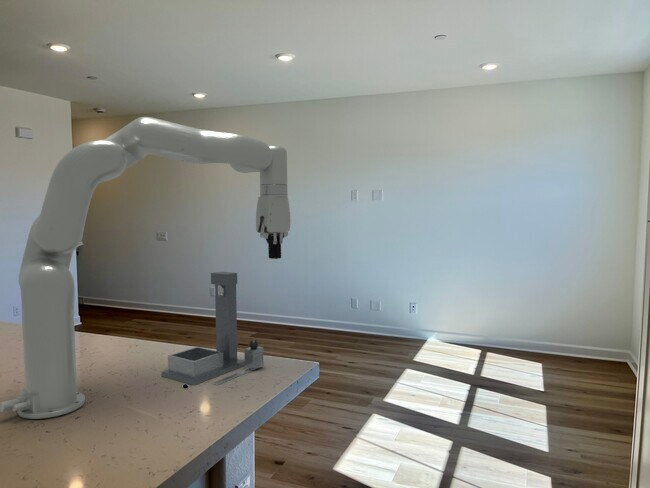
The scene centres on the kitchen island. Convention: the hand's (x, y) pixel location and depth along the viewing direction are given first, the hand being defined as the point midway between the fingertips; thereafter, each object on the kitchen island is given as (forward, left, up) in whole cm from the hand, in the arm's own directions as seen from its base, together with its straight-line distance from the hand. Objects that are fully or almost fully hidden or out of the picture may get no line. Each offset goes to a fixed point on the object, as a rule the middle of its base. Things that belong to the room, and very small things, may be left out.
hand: (274, 258), depth 132 cm
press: (-17, +10, -29) cm, 35 cm away
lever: (-9, 0, -29) cm, 30 cm away
